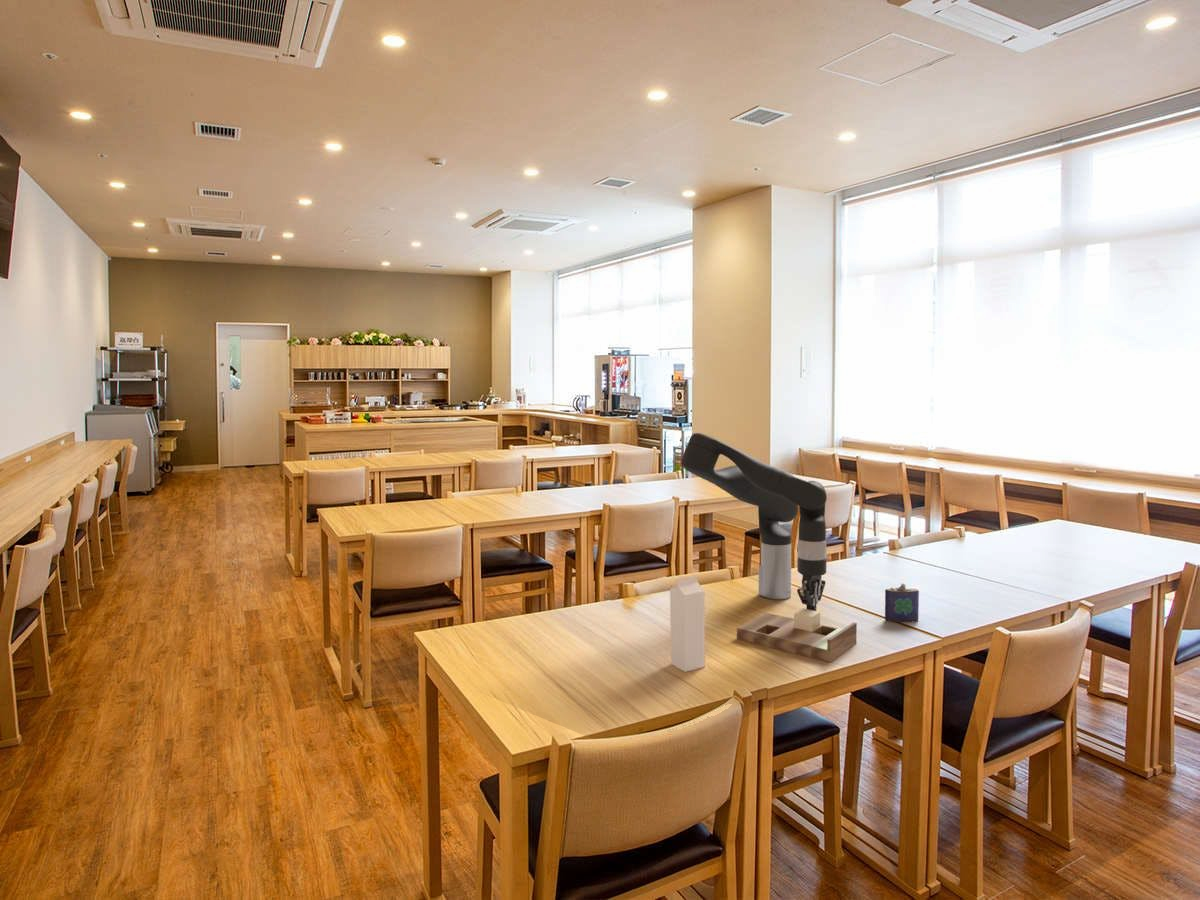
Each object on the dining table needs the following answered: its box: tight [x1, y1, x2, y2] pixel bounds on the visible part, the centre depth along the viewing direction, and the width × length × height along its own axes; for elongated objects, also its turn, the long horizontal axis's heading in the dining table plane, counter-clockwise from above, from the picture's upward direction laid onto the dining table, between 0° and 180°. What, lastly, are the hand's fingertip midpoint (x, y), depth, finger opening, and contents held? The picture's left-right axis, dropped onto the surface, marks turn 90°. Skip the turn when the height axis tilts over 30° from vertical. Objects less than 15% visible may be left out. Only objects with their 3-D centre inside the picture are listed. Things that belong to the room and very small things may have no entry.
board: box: [736, 612, 858, 663], centre depth 193 cm, size 26×16×6 cm, turn 49°
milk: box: [669, 575, 706, 673], centre depth 177 cm, size 6×6×22 cm
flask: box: [884, 583, 920, 623], centre depth 206 cm, size 9×3×11 cm, turn 87°
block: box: [793, 607, 821, 632], centre depth 194 cm, size 5×5×4 cm
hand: (811, 618), depth 199 cm, fingers closed
